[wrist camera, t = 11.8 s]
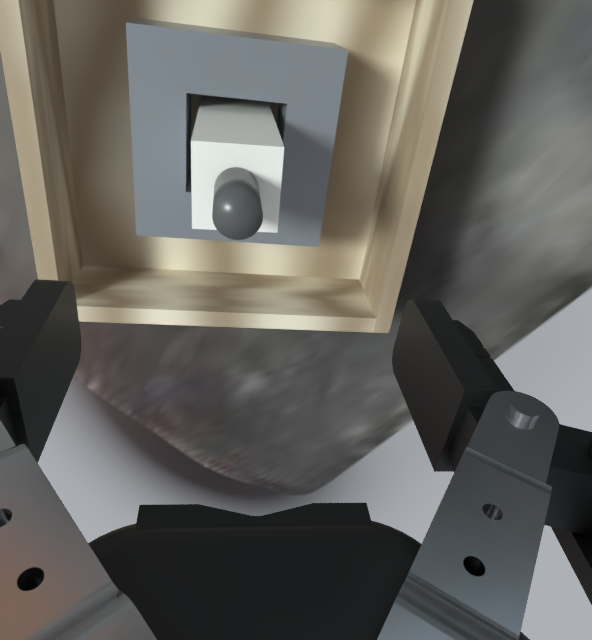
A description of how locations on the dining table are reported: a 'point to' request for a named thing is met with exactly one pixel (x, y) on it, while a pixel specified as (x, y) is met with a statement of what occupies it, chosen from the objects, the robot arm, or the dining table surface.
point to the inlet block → (233, 82)
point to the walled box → (117, 165)
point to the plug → (236, 167)
